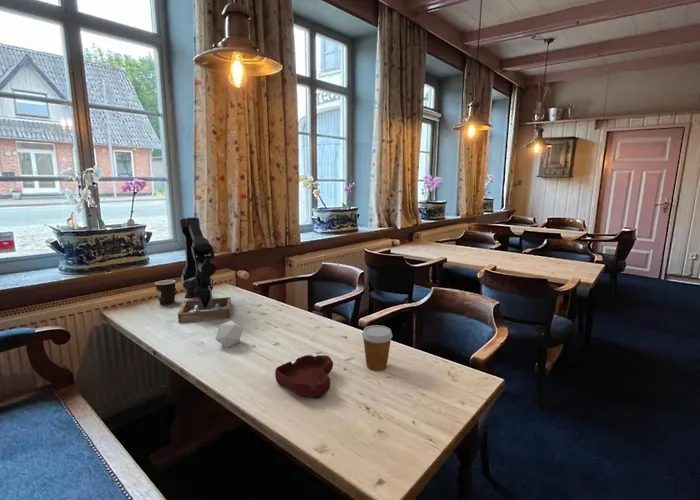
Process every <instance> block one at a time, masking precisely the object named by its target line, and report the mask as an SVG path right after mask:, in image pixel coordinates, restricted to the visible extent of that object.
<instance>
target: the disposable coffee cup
mask: <svg viewBox="0 0 700 500" xmlns="http://www.w3.org/2000/svg"><path fill="white" fill-rule="evenodd" d="M361 336H362V337H361V338H362V339H363V345H364V355H365V363H366V364H365V365H366V368H367V369H368V370H370V371H372V372H382V371H385V370H386V369H387V367H388V361H389V353H390V349H391V348H390V347H391V342H392V339H393V333H392V329H391V328H389V327H387V326H385V325H379V324H377V325H368V326H366V327H365V328H364V329H363V331H362V332H361Z"/></svg>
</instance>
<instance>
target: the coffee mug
mask: <svg viewBox="0 0 700 500" xmlns="http://www.w3.org/2000/svg"><path fill="white" fill-rule="evenodd" d="M154 284H155V285H154V286H155V289H156V293H157V297H158V300H159V302H158V303H159V305H162V306H166V305H167V306H168V304H169V305H172V304H174V303H175V301H176V295H177V294H178V293H177V292H178V291H177V288H176V280H174V279H165V280H159V281H156V282H155V283H154Z"/></svg>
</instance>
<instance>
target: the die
mask: <svg viewBox="0 0 700 500" xmlns="http://www.w3.org/2000/svg"><path fill="white" fill-rule="evenodd" d="M243 330H244V328H243V327H242V326H241V325H239V324H238V323H236V322H235V321H234V320H228V321H226V322H223V323H222V324H221V323H220V324H219V327H218V330H217V333H216V336H215V340H216V341H217V342H218V343H220V344H221V345H222V346H224V347H225V348H226V349H229V348H231V347H233V346H235V345H237V344H240V340H241V337H242V334H243V332H244V331H243Z"/></svg>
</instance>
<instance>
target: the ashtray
mask: <svg viewBox="0 0 700 500" xmlns="http://www.w3.org/2000/svg"><path fill="white" fill-rule="evenodd" d="M333 367H334V361H333V360H332V358H331V357H330V356H329V355H324V354H323V355H316V356H314V355H311V354H305V355H302V356H301V357H297V358H296V360H295V362H293V363H292V361H291V360H290V361H287V362H286V363H284V364H281V365H279V366H278V367H276V368H275V373H274V374H275V377H274V378H275V381H276V383H277V384H278V385H279V386H281V387H283V388H284V389H286V390H288V391H291V392H292V393H294V394H296V395H298V396H302V397H308V398H310V397H311V398H313V399H320V398H323V396H324V395H325V394H327V393H328V391H329V390H330V387H331V377H330V376H329V374H330V373H331V371H332V370H333Z"/></svg>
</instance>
